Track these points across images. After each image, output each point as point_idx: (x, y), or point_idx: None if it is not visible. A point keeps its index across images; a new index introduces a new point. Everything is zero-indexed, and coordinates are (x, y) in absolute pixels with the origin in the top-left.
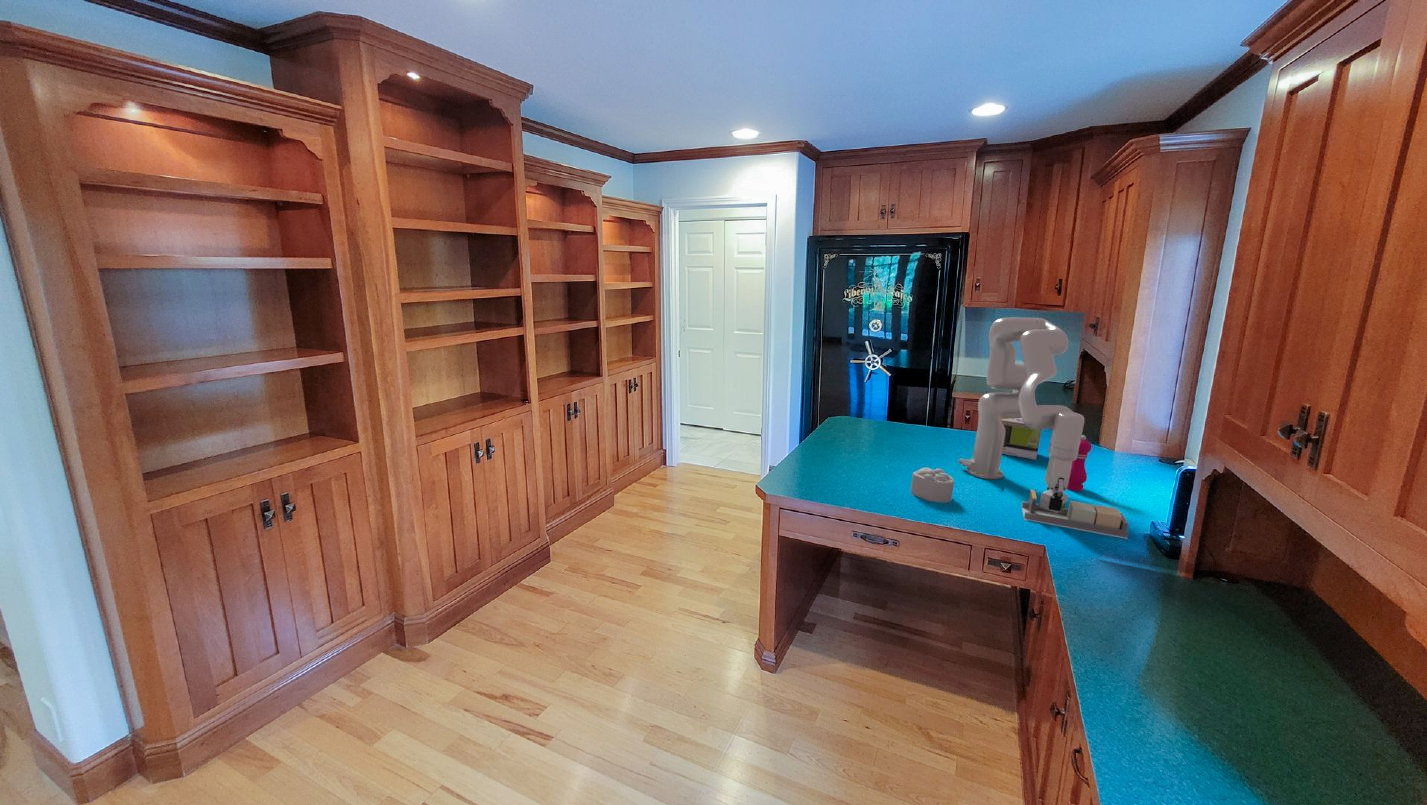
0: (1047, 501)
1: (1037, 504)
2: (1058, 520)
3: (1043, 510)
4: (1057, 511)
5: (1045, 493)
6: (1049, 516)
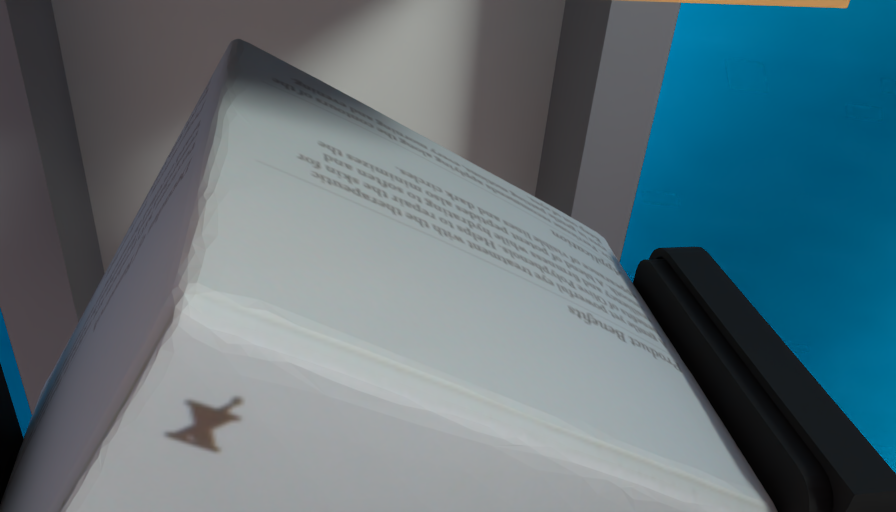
0: (95, 325)
1: (638, 32)
2: (17, 326)
3: (555, 118)
4: (36, 408)
5: (176, 430)
6: (42, 202)
